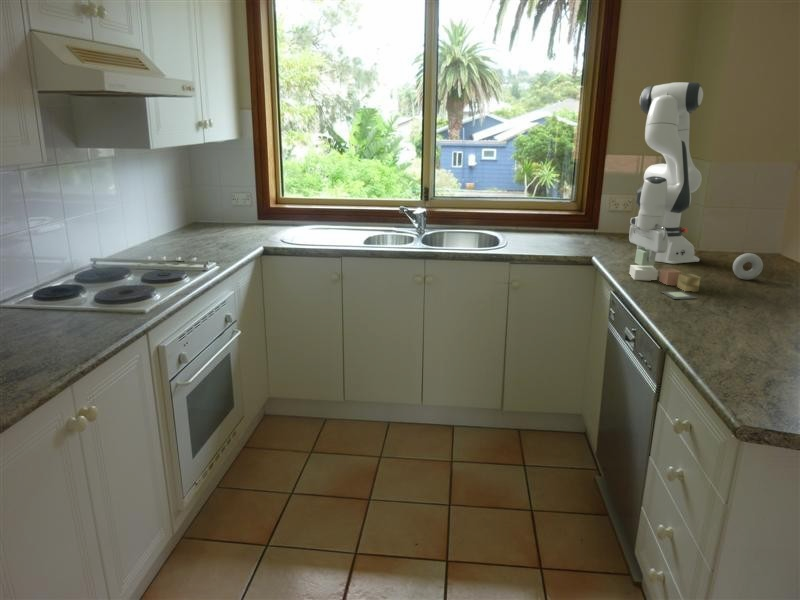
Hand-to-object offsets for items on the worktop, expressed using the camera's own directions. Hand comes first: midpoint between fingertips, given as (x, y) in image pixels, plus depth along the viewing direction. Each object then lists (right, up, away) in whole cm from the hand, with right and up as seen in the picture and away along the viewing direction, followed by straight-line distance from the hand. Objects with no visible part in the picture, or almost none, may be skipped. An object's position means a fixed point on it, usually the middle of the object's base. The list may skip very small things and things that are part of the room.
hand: (645, 259), depth 223 cm
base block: (0, -7, +2) cm, 7 cm away
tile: (+3, -14, -21) cm, 25 cm away
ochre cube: (+9, -11, -13) cm, 20 cm away
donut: (+38, -8, +1) cm, 38 cm away
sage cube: (0, -2, 0) cm, 2 cm away
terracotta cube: (+6, -9, -6) cm, 12 cm away
